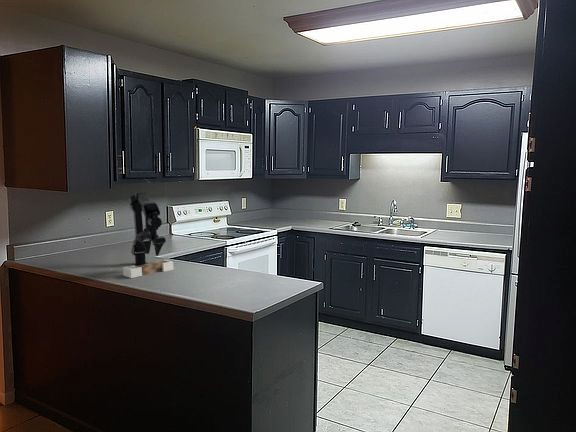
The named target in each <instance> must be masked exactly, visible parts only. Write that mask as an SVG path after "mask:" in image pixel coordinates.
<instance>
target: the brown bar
mask: <svg viewBox="0 0 576 432" xmlns="http://www.w3.org/2000/svg"><path fill="white" fill-rule="evenodd" d="M161 260H162V259H161ZM161 260H157V262H156V261H154V262H149V263H148V264H144V265H139V266H138V267H142V276H146V275H150V274H154V273H158V272H164V271H163V270H162V263H165V262H167V261H164V260H165V259H163V260H162V261H161Z"/></svg>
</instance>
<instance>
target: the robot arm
mask: <svg viewBox="0 0 576 432" xmlns="http://www.w3.org/2000/svg"><path fill="white" fill-rule="evenodd" d="M128 205H129V208H130V210H131V211H132V213H133V222H134V223H133V224H134V232H135V233H134V234H135V235H134V236H135V237H134V239H133V242H132V246H131V249H130V250H131V255H132V256H134V263H132V265H135V266H137V267H139V266H140V265H144V264H149V263H148V262H146V254H147V255H149V254H150V251H151V246H152V245H153V247H154V250H155V256H156V257H157V256H159V255H160V252H161V249H162V248H163V246H164V244H165V243H166V242H167V241H166V239H167V238H165V237H164V236H159V234H158V232H157V231H158V230H159V228H160V227H161V226H162V224H163V221H162V218H160V217H159V216H161V211H160V207H159V206H158V204H157V203H156V202H155V201H152V200H150V199H149V198H148V197H147V195H146V193H145V192H144V191H143V192H135V193H134V194H133V195H131V196H130V197H129V198H128ZM143 216H144V222H143ZM143 223H144V224H145V227H144V225H143Z"/></svg>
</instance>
